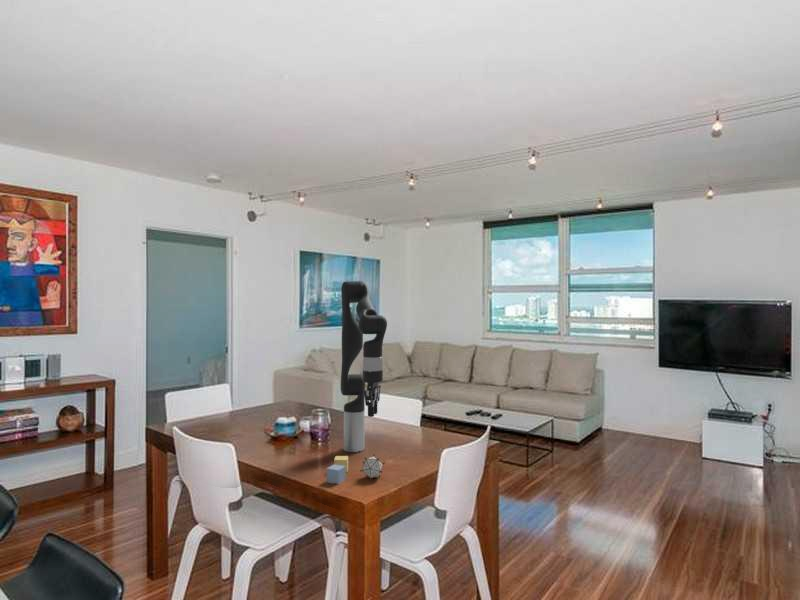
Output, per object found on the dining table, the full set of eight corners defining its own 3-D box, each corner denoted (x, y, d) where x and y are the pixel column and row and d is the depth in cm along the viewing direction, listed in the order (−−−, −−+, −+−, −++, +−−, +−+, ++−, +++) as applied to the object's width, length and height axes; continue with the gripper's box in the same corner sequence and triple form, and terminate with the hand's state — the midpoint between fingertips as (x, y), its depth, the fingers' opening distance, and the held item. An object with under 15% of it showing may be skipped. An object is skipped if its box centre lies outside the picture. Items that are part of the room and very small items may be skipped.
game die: (368, 489, 182) (352, 469, 180) (372, 473, 190) (357, 454, 187) (387, 480, 179) (372, 459, 177) (391, 464, 187) (376, 445, 185)
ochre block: (335, 468, 193) (335, 456, 194) (348, 468, 194) (348, 455, 194) (334, 473, 188) (334, 460, 189) (347, 473, 189) (347, 459, 189)
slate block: (333, 477, 183) (333, 464, 183) (345, 479, 181) (345, 466, 181) (326, 482, 179) (326, 468, 179) (338, 484, 177) (338, 470, 177)
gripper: (368, 366, 191) (368, 410, 191) (357, 371, 178) (357, 418, 177) (387, 366, 190) (387, 411, 189) (377, 371, 176) (377, 420, 176)
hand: (372, 414), depth 183 cm, fingers open, 4 cm apart
